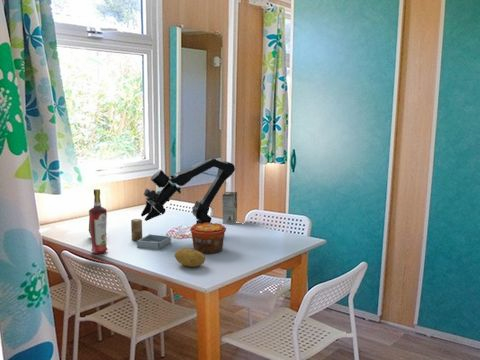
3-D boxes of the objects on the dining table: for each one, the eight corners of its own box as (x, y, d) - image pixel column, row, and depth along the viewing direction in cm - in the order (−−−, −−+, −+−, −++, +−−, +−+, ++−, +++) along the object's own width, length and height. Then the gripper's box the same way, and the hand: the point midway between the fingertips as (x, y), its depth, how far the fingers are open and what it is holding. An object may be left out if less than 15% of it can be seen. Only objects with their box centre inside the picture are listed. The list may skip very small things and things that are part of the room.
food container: (212, 257, 207) (212, 233, 206) (182, 251, 216) (182, 227, 214) (232, 248, 221) (233, 225, 219) (204, 242, 229) (204, 220, 227)
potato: (192, 272, 190) (192, 255, 189) (170, 265, 198) (169, 248, 197) (208, 266, 197) (208, 249, 196) (186, 259, 205) (186, 243, 204)
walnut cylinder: (144, 238, 235) (143, 219, 233) (138, 241, 230) (138, 221, 228) (135, 237, 236) (134, 218, 235) (129, 240, 232) (129, 221, 230)
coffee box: (226, 219, 273) (226, 191, 270) (237, 220, 271) (237, 191, 269) (222, 223, 264) (222, 194, 261) (233, 224, 262) (233, 195, 260)
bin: (170, 242, 228) (170, 236, 228) (159, 249, 218) (159, 243, 217) (149, 240, 232) (149, 234, 231) (137, 247, 221) (137, 240, 221)
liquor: (101, 248, 218) (99, 187, 214) (111, 252, 214) (109, 189, 209) (87, 252, 213) (84, 189, 208) (97, 256, 208) (94, 191, 204)
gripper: (149, 179, 240) (127, 203, 238) (158, 186, 223) (134, 211, 221) (165, 194, 245) (144, 217, 242) (175, 201, 228) (152, 226, 225)
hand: (143, 218), depth 233 cm, fingers open, 9 cm apart
